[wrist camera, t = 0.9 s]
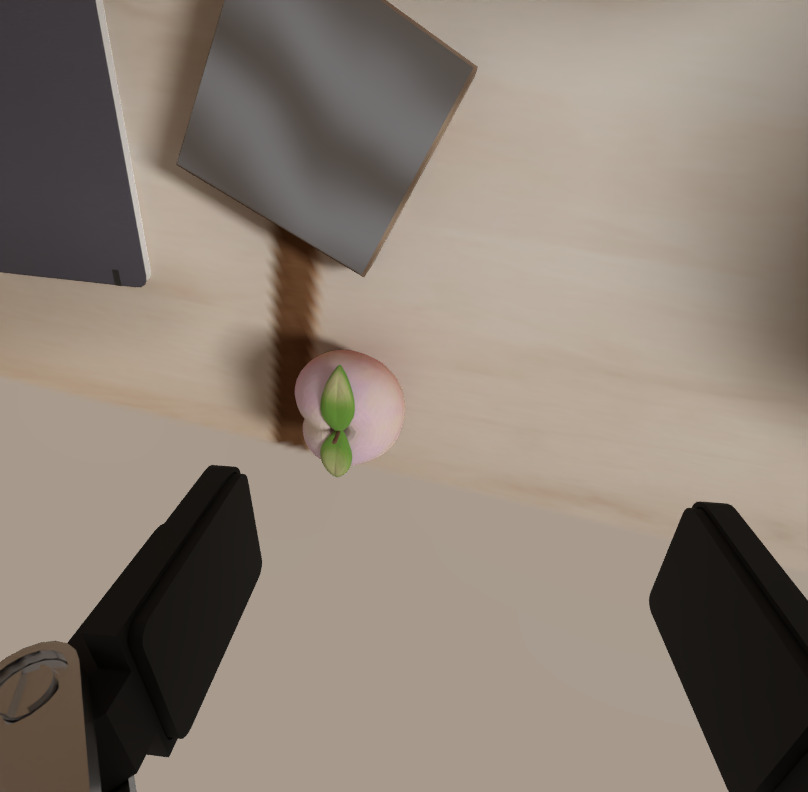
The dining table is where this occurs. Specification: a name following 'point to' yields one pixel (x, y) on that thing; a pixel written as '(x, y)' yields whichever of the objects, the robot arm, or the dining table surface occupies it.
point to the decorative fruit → (349, 408)
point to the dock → (323, 116)
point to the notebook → (65, 149)
